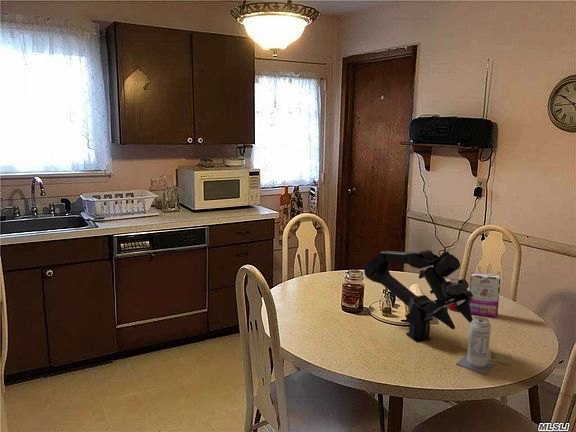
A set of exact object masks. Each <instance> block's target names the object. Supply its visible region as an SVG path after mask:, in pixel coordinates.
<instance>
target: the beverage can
mask: <svg viewBox="0 0 576 432" xmlns="http://www.w3.org/2000/svg"><path fill="white" fill-rule="evenodd" d="M458 280H461V279H460V278H451V279H450V280H449V281H450V282H451V283H452V284H457V283H458ZM447 306H448V310H451V311H455V312H457V311H459V310H458V309H457V308H456V306H458V305H455V304H454V303H453V304H450V305H447ZM459 312H460V311H459Z"/></svg>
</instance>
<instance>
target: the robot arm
mask: <svg viewBox="0 0 576 432" xmlns="http://www.w3.org/2000/svg"><path fill="white" fill-rule="evenodd" d="M391 263H394V264H406V265H409V266H410V267H411V268H415V269H420V270H419V275H418V279H425V280H426V283H427V285H428V286H429V287H430V289H431V290H430V291H429V293H430V294H431V295H433V294H434V296H435V298H436V299H434V300H432V299H430V298H429V296H427V295H425V294H422V295H418V296H417V295H416V293H415V292H412V291H411V290H410V289H409V288H407V286H405V285H404V284H403V283H401V282H400V281H399V280H397V279H396V278H395V277H394V276H393V275H392V274H391V272H390V269H389V268H390V265H391ZM424 268H426V269H424ZM460 268H461V262H460V260H459V259H458V258H457V257H456V256H455V255H453V254H450V252H449V251H444V252H442V253H441V255H440V256H439V255H437V254H435V253H433V251H432V250H431V249H425V250H419V251H414V252H410V251H393V250H383V251H379V252H378V253H377V254H376V255H375V257H374V258H372V260H370V261H369V262H368V263H367V264H366V265H365V267H364V271H363V272H364V276H365V277H366V279H368V280H369V281H371V282H373V283H377V284H380V285H382V286H383V287H384V288H386V289H387V290H388V291H389V292H390V293H392V294H393V295H394V296H395V297H396V298H397V299H399V301H401V302H402V303H403V304H404V305H406V306H407V308H408V312H409V313H407V314H406V315H405V319H406V322H408V323H409V328H408V332H406V333H405V335H406V336H408V337H409V338H410V339H412V340H413V341H414V342H416V343H417V342H422V341H429V340H432V337H431V336H430V335H431V334H430V332H431V331H430V330H431V323H430V321H433V319H434V318H435V319H437V320H438V321H440V322H441V323H442V324H444V325H446V327H447V328H448V327H449V328H450V329H451V330H455V329H456V326H455V324H454V321H453V320H452V318H451V316H450V314H449V312H448V311H449V308H448V306H447V305H450V304H453V303H454V304H455V305H458V306H456V308H457V309H458V310H459V313H460V314H461V315H462V316H463V317H464V318H465V319H466V321H467V322H468V323H469V324H470V323H471V322H472V320H473V316H472V315H473V314H471V310H470V302H471V300H472V297H473V294H472V293H471V291H469V290H470V289H469V288H470V283H468V281H467V280H466V279H465V278H463V279H460V280H458V283H457V284H452V283H451V282H450V280H449V281H447V279H446V278H447V277H449V276H450V275H452V274H453V273H455V272H456V271H457V270H459V269H460ZM421 269H422V270H421ZM468 289H469V290H468Z"/></svg>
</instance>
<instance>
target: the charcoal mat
mask: <svg viewBox="0 0 576 432" xmlns="http://www.w3.org/2000/svg"><path fill="white" fill-rule="evenodd" d="M467 356H468V353H466V354H465V355H464V356H463V357H462V358H461V359H459V360H458V361H457V362H456V363H455V365H457V366H459V367H461V368H465V369H467V370H470V371H473V372H476V373H478V374H481V375H484V376H485V375H486V373H488V372H489V371H490V370H491V369H492V367H494V366H495V365H496V362H495V361H492V360H488V362H487V365H485V367H483V368H476V367H473V366H471V365H470V364H469V362H468V361H467Z"/></svg>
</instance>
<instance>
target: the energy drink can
mask: <svg viewBox="0 0 576 432" xmlns="http://www.w3.org/2000/svg"><path fill="white" fill-rule="evenodd" d="M472 319H473V320H472V322H471V323H470V322H469V334H468V341H469V344H468V350H467V354H468V356H467V361H468V362H469V364H470V365H471V366H473V367H476V368H483V367H485V365H487V362H488V361H489V359H488V352H489V349H490V341H491V332H492V331H491V329H492V326H491V324H490V320H489V319H488V318H486V317H482V316H475V317H472Z"/></svg>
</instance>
